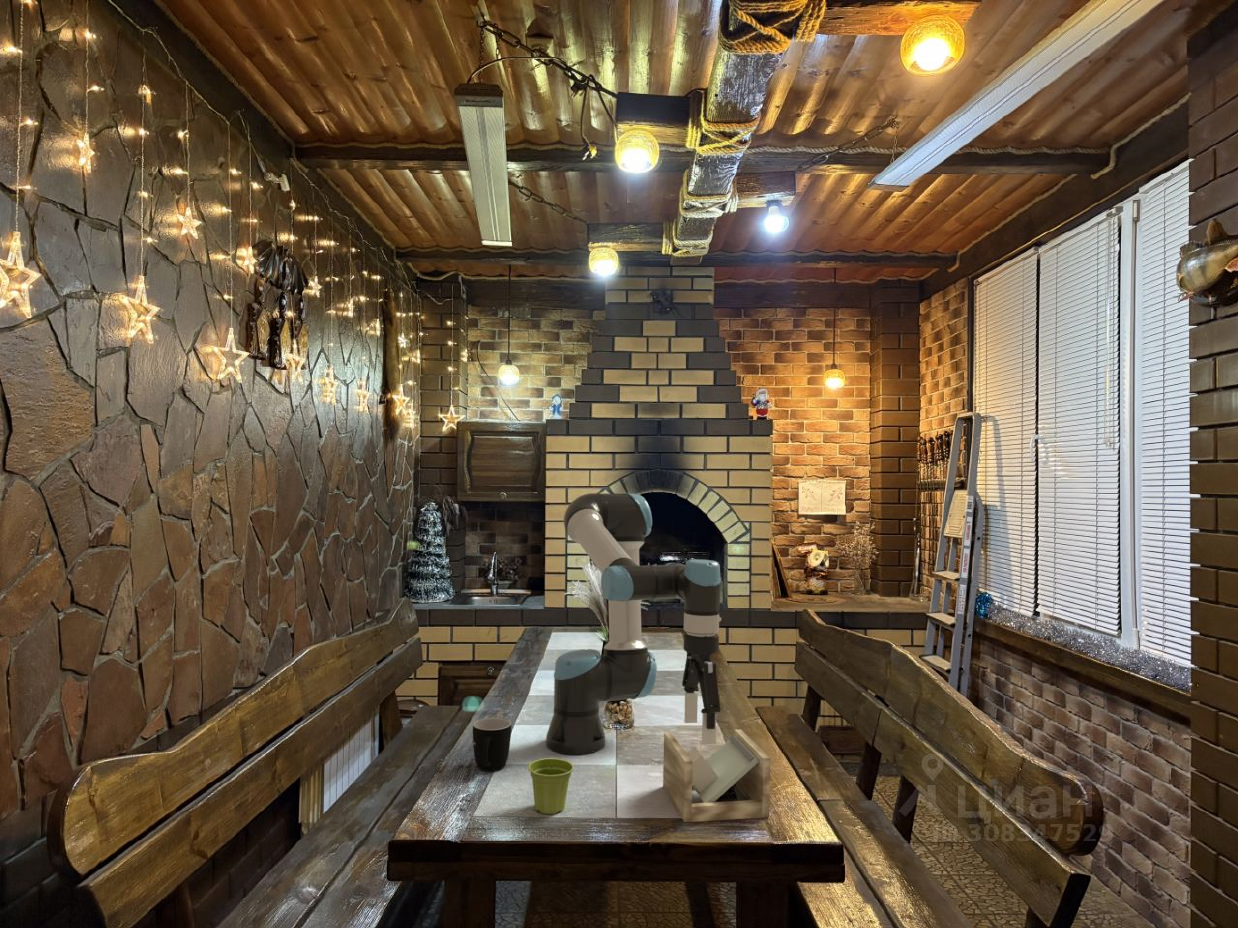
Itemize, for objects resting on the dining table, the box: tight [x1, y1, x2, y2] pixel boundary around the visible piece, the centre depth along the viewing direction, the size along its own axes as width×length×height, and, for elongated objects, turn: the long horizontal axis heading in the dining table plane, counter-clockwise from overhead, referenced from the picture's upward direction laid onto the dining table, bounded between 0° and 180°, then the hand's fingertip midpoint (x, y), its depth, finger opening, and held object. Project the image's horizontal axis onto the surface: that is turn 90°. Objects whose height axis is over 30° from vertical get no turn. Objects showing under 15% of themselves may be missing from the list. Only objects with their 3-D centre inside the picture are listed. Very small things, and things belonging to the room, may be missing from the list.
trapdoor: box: [692, 735, 759, 803], centre depth 166 cm, size 14×14×1 cm
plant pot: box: [528, 757, 575, 815], centre depth 160 cm, size 9×9×9 cm
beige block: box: [686, 746, 718, 793], centre depth 165 cm, size 5×5×6 cm
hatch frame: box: [662, 728, 771, 823], centre depth 165 cm, size 18×18×12 cm
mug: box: [472, 717, 512, 773], centre depth 181 cm, size 12×9×10 cm
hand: (699, 732), depth 165 cm, fingers open, 13 cm apart
